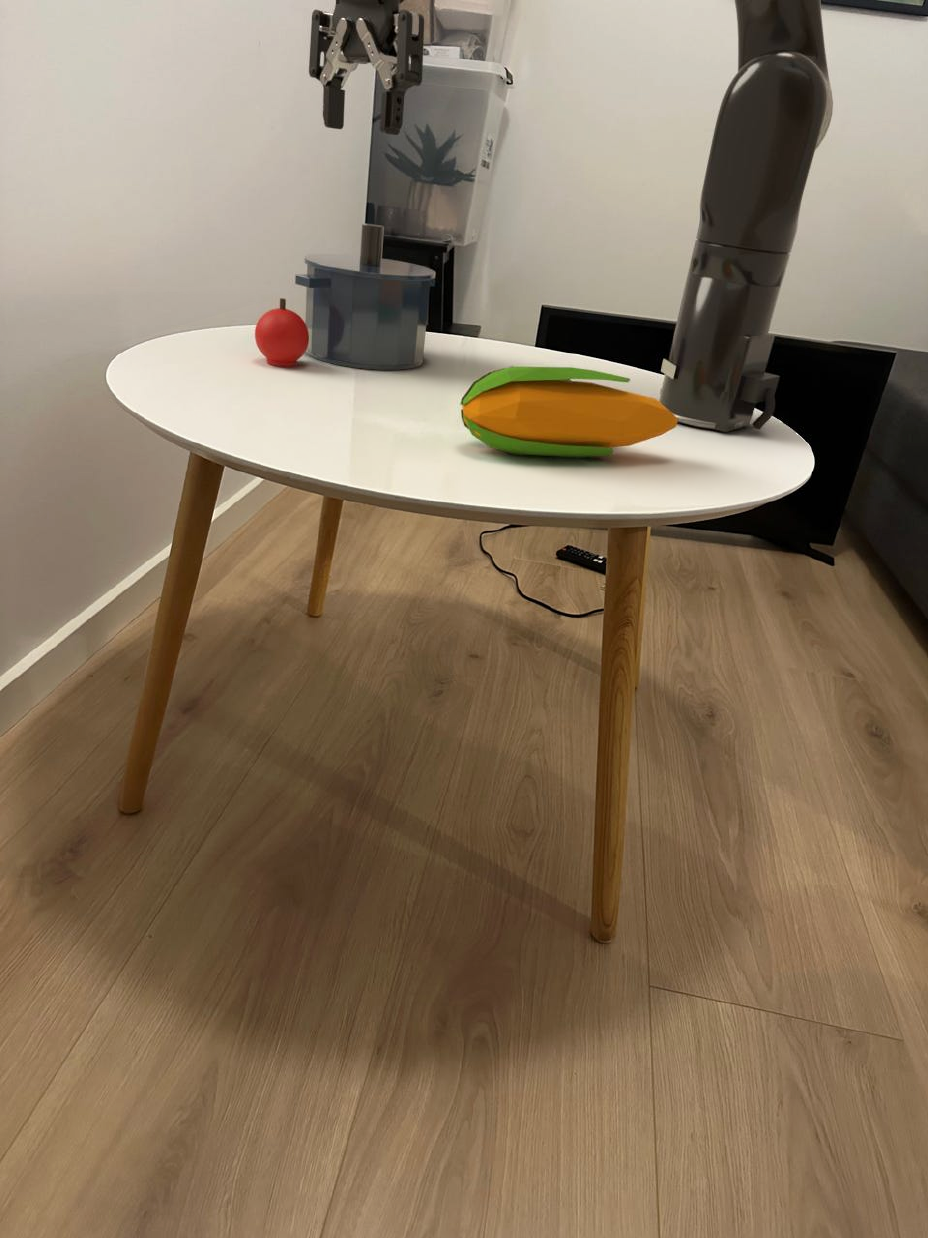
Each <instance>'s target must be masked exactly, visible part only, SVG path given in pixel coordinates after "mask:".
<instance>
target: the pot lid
mask: <svg viewBox="0 0 928 1238" xmlns="http://www.w3.org/2000/svg"><path fill="white" fill-rule="evenodd" d="M384 231H385V226H383V225H380V224H373V223H361V231H360V232H361V233H360V251H359V255H356V254H343V253H310V254H307V255H304V256H303V263H304V264H305V265H306V266H307V265H309V266H312V267H314V268H318V269H322V270H326V271H330V272H335V273H340V274H346V275H353V276H360V277H367V278H376V279H387V280H402V281H423V280H431V279H434V278H435V279H436V271H435V270H433V269H431V268H429V267H427V266H422V265H419V264H415V263H411V262H405V261H401V260H394V259H389V258H383V244H384V233H385V232H384Z"/></svg>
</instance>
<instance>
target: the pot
mask: <svg viewBox="0 0 928 1238" xmlns="http://www.w3.org/2000/svg"><path fill="white" fill-rule="evenodd" d="M294 279H295V281H294V285H297V286H301V287H304V288H306V295H305V296H306V297H305V321H304V322H305V324H306V326H307V329H308V333H309V343H308V347H307V349H306V351H305V353H306V354H307V355H308V356H309V357H312V358H314V359H316V360H319V361H322V362H325V363H329V364H331V365H332V364H333V365H337V366H341V367H347V368H354V369H361V370H362V369H364V370H374V371H375V370H376V371H401V370H403V371H404V370H410V369H414V368H417V367H419V366H420V367H421V365H422V364H423V361H424V352H425V343H426V331H427V323H428V322H427V321H428V311H429V302H430V301H429V300H430V290H431V287H435V285H436V284H435V283H436V277H435V278H434V279H431V280H423V281H402V280H387V279H376V278H367V277H360V276H353V275H346V274H340V273H335V272H330V271H326V270H322V269H318V268H314V267H312V266H309V265H307V264H306V273H296V274H295V278H294Z"/></svg>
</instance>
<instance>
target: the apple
mask: <svg viewBox="0 0 928 1238" xmlns="http://www.w3.org/2000/svg"><path fill="white" fill-rule="evenodd" d="M286 304H287V299H286V298H285V297H280V298H279V308H278V307H277V308H273V309H270V310H268V311H266V312H265V313H263V314H262V315H261V316H260V318H259V319H258V320H257V323H256V325H255V328H254V339H255V343H256V347H257V349H258V350H259V352H260V353H261V354H262V356H263V357H265V358H266V359H265V361H266V363H267V364H268V365H271V366H274V367H283V368H291V367H296V366H297V365H298V360H299V359H301V358H303V356H304V354H305V353H306V349H307V347H308V343H309V333H308V329H307V326H306V324H305V322H306V321H304V319H303V318H302V317H301V316H300V315H299V314H297V312H295V311H292V310H291V309H287V307H286V306H287V305H286Z"/></svg>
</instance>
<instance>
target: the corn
mask: <svg viewBox="0 0 928 1238" xmlns="http://www.w3.org/2000/svg"><path fill="white" fill-rule="evenodd" d="M579 380H591V381H579ZM592 380H595V381H596V380H597V381H610V382H619V383H630V382H631V378H629V377H626V376H620V375H616V374H611V373H607V372H603V371H598V370H594V369H586V368H580V367H570V366H569V367H564V366H561V367H560V366H512V365H511V366H509V367H504V368H500V369H497V370H493V371H490V372H488V373H486V374H484V375H482V377H480V378H478V379H476V380H475V381H473V382H472V383H471V385H470V386H469V388H468V389H467V391H466V392H465V393H464V394H463V396H462V397H461V401H460V403H459V406H461V407H462V408H461V409H460V413H461V415H460V416H461V420H462V423H463V427H465V428H466V429H467V430H468V431H469V433H470V434H471V436H473V437H474V438H476V439H478V440H479V441H480V442H482V443H483V444H485V445H486V446H488V447H490V448H491V449H495V450H498V451H502V452H505V453H508V454H512V455H521V456H543V457H544V456H545V457H564V458H565V457H566V458H591V457H603V456H610V455H612V454H613V452H614V450H613V449H611V448H619V447H620V448H621V447H629V446H632V445H636V444H639V443H642V442H645V441H647V440H651V439H654V438H657V437H660V436H662V435H664V434H666V433H668V432H670V431H671V430H673V429H675V428H677V424H678V423H679V422H678V418H677V417H676V416H675V415H674V414H672V413H671V412H670V411H669V410H668V409H667V408H666V407H665V406H664V405H662V404H661V403H660V402H659V399H657V398H654V397H651V396H646V395H643V394H639V393H634V392H631V391H628V390H623V389H619V388H615V387H610V386H607V385H603V384H599V383H595V382H592Z"/></svg>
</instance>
